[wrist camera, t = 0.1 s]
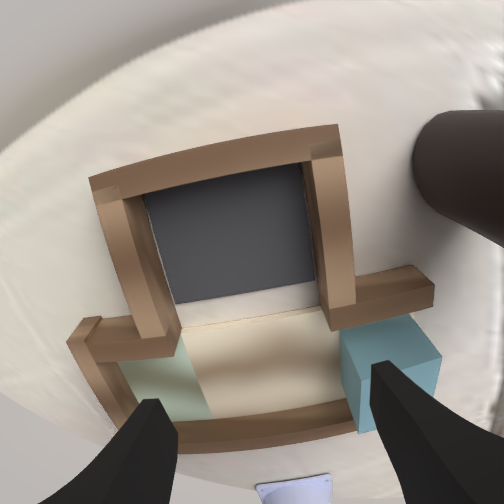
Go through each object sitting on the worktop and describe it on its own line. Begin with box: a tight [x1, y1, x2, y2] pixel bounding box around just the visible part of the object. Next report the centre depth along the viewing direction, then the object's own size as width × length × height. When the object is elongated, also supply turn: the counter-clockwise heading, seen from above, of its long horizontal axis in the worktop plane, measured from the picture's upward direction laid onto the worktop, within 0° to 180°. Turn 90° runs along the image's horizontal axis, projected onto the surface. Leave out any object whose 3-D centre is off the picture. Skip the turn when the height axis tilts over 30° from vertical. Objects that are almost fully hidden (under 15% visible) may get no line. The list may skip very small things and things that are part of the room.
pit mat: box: [144, 162, 315, 304], centre depth 18 cm, size 8×9×1 cm
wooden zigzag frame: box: [66, 124, 435, 454], centre depth 19 cm, size 21×22×3 cm
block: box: [339, 313, 442, 434], centre depth 18 cm, size 5×5×5 cm
